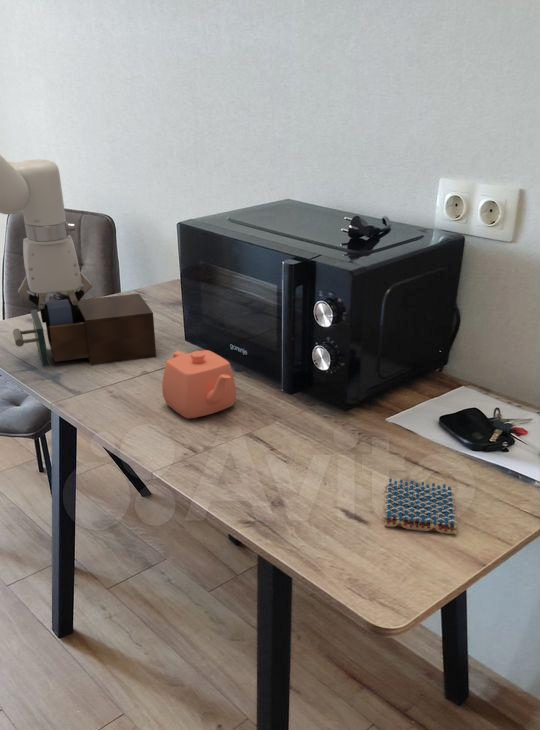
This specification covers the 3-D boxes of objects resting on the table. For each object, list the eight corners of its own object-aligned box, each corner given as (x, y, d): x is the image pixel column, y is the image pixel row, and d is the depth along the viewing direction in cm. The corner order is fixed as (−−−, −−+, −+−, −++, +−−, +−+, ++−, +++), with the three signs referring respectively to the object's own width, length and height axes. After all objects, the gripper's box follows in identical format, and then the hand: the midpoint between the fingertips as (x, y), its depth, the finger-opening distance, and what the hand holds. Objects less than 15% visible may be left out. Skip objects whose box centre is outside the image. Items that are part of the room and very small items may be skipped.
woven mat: (381, 529, 99) (382, 517, 97) (383, 487, 107) (385, 476, 106) (457, 537, 97) (459, 526, 96) (453, 495, 106) (455, 484, 105)
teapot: (202, 382, 137) (200, 332, 132) (256, 418, 125) (257, 364, 120) (150, 397, 131) (146, 345, 126) (202, 436, 120) (200, 380, 114)
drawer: (20, 369, 139) (13, 331, 135) (15, 348, 148) (8, 312, 144) (105, 358, 144) (101, 321, 140) (95, 338, 153) (91, 303, 149)
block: (51, 329, 141) (47, 308, 138) (48, 322, 144) (45, 301, 142) (73, 327, 142) (70, 306, 140) (70, 319, 146) (67, 299, 143)
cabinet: (91, 365, 143) (85, 320, 138) (81, 343, 153) (75, 300, 148) (156, 356, 148) (153, 312, 142) (142, 335, 157) (139, 293, 152)
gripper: (88, 223, 139) (99, 313, 149) (-2, 230, 133) (16, 322, 143) (95, 233, 133) (105, 325, 143) (1, 240, 128) (19, 335, 138)
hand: (60, 323), depth 143 cm, fingers closed on block, 4 cm apart
